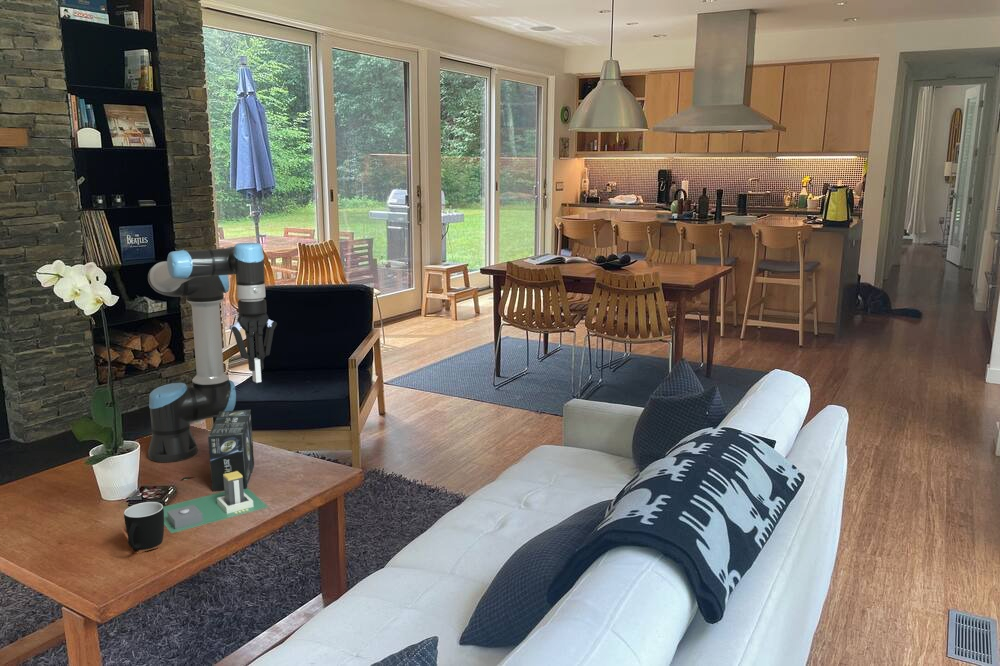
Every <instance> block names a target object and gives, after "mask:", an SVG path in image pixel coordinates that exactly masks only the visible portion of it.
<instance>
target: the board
mask: <svg viewBox="0 0 1000 666" xmlns="http://www.w3.org/2000/svg"><path fill="white" fill-rule="evenodd" d="M243 490H244V502H241V503H238V504H234V505H230V506H228V505H227V504H226V503H225V492H224V491H220V492H217V493H214V494H208V495H205V496H201V497H196V498H193V499H189V500H185V501H181V502H177V503H172V504H169V505H163V509H164V527H166V529H167V530H168V532H169V533H170V534H174V533H178V532H181V531H185V530H188V529H192V528H195V527H199V526H200V527H201V526H203V525H206V524H207V525H208V524H210V523H215V522H220V521H221V520H226V519H229V518H230V519H231V518H233V517H237V516H242V515H244V514H249V513H252V512H255V511H259V510H263V509H266V508H269V505H267V504H266V503H265V502H264V501H263V500H262V499H260V498H259V497H258V496H257V495H256V494H255V492H253V491H252V490H251V489H250V488H248V487H247V489H243Z"/></svg>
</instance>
